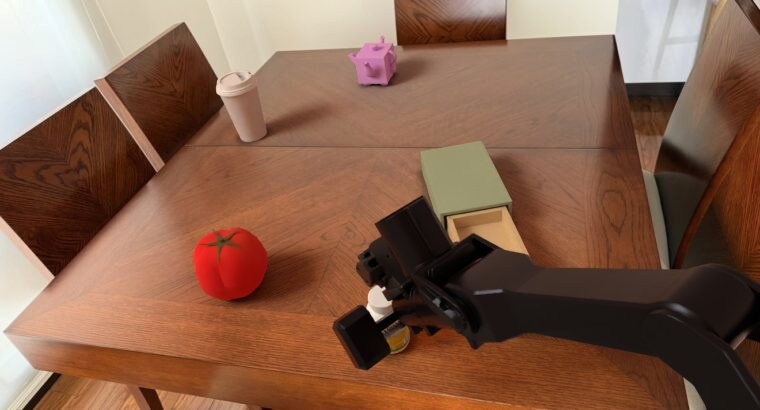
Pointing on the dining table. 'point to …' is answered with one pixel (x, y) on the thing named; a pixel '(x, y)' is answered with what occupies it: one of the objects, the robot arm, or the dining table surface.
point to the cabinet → (462, 180)
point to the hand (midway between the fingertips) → (387, 304)
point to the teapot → (375, 62)
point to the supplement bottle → (379, 309)
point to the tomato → (230, 263)
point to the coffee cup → (243, 103)
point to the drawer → (487, 228)
